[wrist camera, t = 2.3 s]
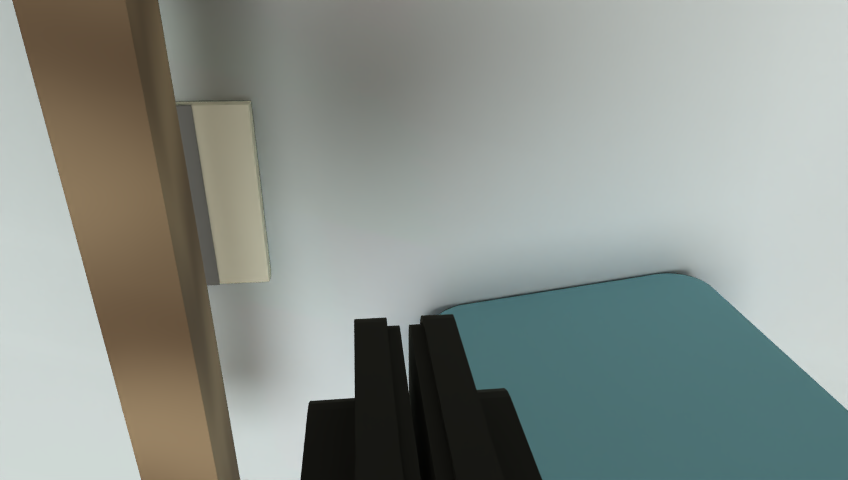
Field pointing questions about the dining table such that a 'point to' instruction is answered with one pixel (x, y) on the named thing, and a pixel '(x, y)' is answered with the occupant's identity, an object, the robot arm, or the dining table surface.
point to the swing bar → (134, 224)
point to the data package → (652, 385)
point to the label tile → (225, 190)
